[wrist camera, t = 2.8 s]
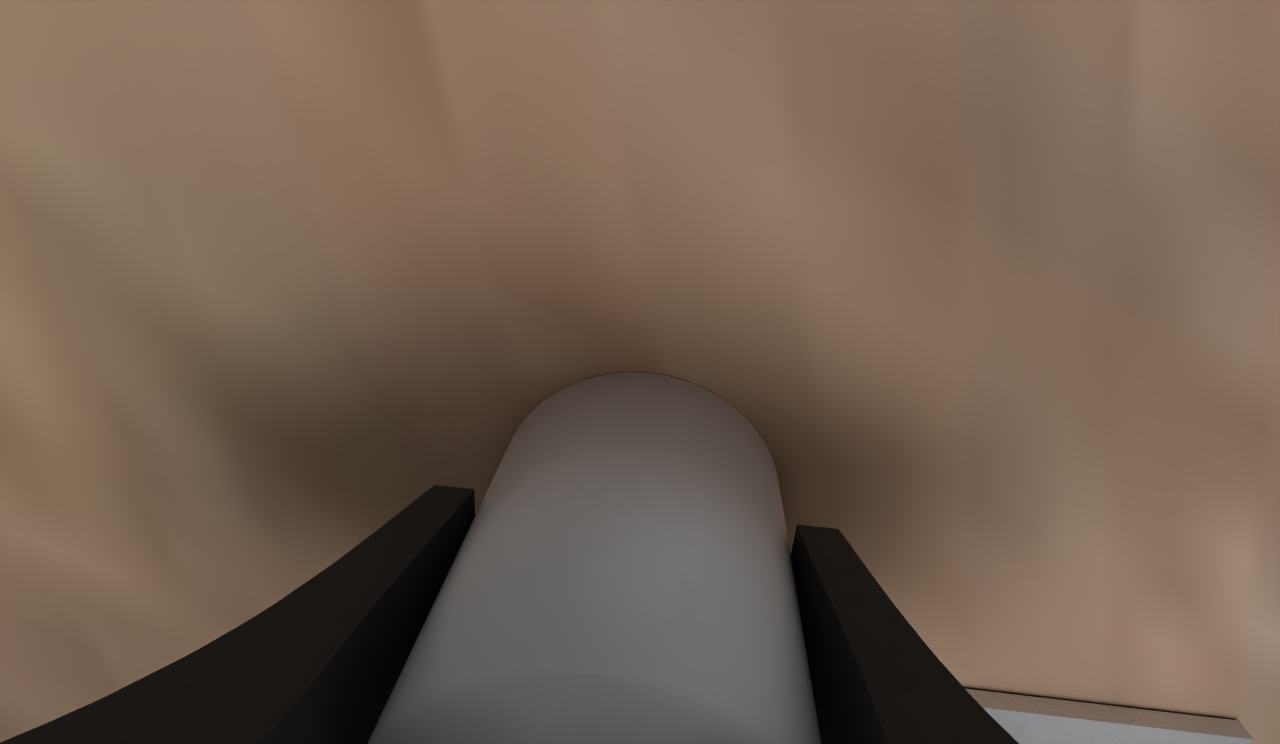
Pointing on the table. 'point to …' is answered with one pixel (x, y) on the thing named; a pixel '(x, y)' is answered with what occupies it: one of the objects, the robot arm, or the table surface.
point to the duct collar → (1102, 723)
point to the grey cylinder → (617, 586)
